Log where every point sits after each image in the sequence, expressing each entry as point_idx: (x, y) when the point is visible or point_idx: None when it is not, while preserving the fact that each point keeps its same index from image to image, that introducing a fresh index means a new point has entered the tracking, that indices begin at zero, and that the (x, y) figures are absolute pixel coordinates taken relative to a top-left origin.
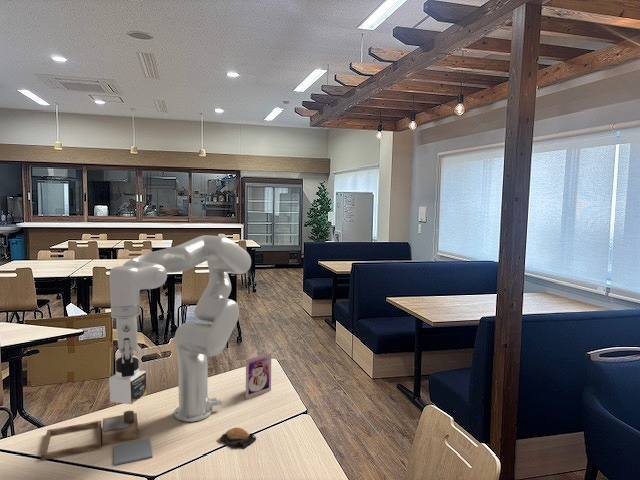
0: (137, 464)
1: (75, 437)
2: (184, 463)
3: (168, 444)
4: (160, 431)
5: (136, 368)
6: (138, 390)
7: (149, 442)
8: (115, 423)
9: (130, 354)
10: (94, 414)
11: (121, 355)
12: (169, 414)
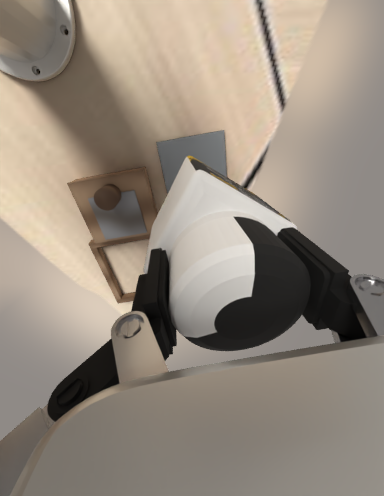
0: (236, 157)
1: (131, 265)
2: (268, 49)
3: (182, 95)
4: (122, 119)
5: (268, 228)
6: (237, 185)
7: (173, 141)
8: (119, 218)
9: (167, 312)
10: (52, 257)
11: (171, 349)
12: (33, 97)
